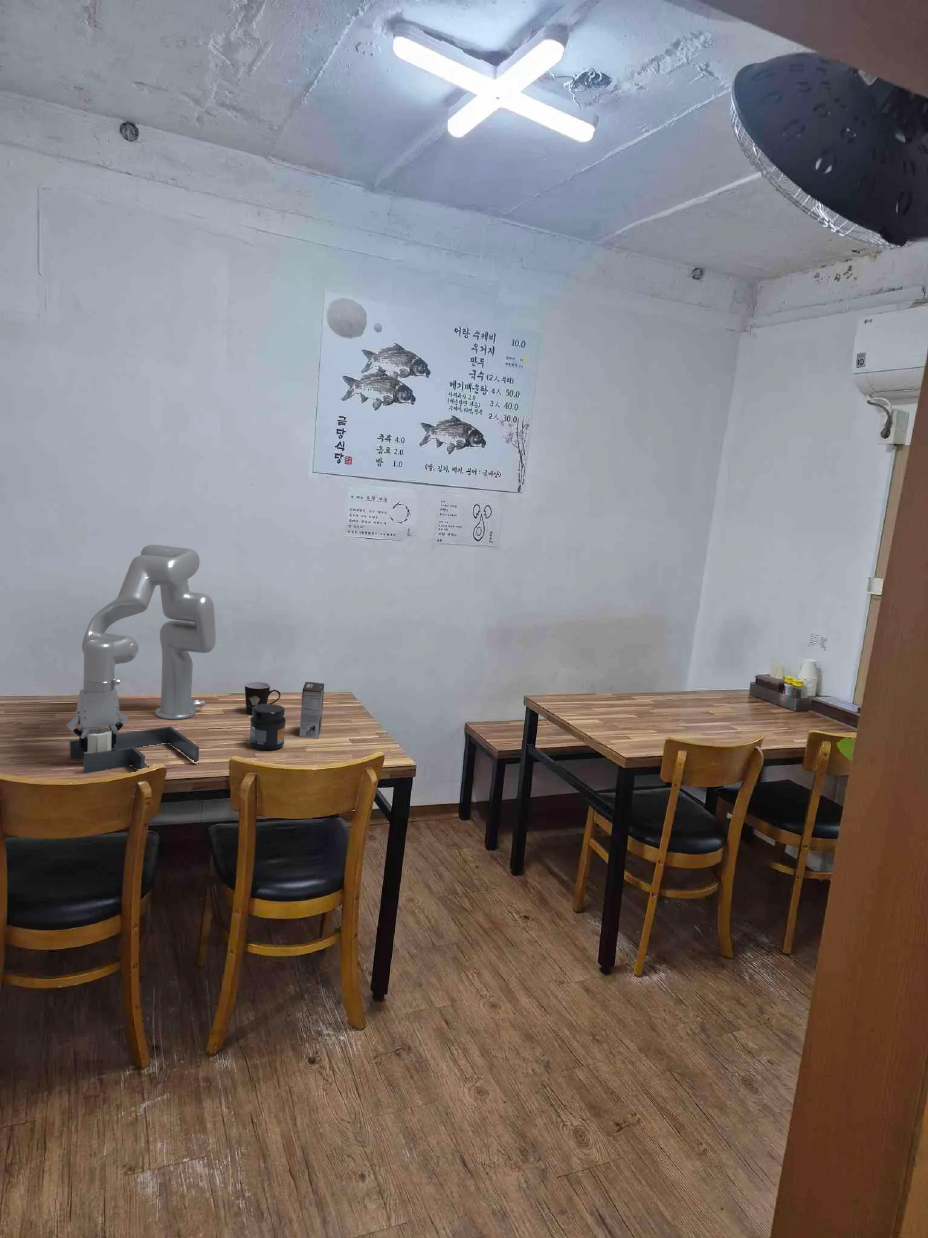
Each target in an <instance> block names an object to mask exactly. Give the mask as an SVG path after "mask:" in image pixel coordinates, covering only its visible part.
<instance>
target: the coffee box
mask: <svg viewBox="0 0 928 1238" xmlns="http://www.w3.org/2000/svg"><path fill="white" fill-rule="evenodd" d="M324 692H325V683H324V682H322V683H320V682H312V681H305V682H304V685H303V688H302V692H301V693H302V696H301V709H300V720H299V721H300V722H299V737H300V738H311V739H313V738H314V739H319V738H320V735H321V731H322V724H323V708H324V695H325V693H324Z"/></svg>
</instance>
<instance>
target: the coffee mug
mask: <svg viewBox="0 0 928 1238" xmlns="http://www.w3.org/2000/svg"><path fill="white" fill-rule="evenodd" d="M270 689H271V684H270V683H268V682H263V681H250V682H249V681H248V682H246V683H244V695H245V697H244V698H245V708H246V710H245V711H246V715H249V716H253V714H252V712H253V707H254V706H256V705H260V704H274V703H275V704H276V703H277V701H279V700H280V698H281V692H280V691H279V690H278V689H272V690H270ZM273 692H274V693H277V694H278V698H276V699H275V700H274V701H271V702H270V703H268V700H269V696H270V695H271V693H273Z"/></svg>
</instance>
